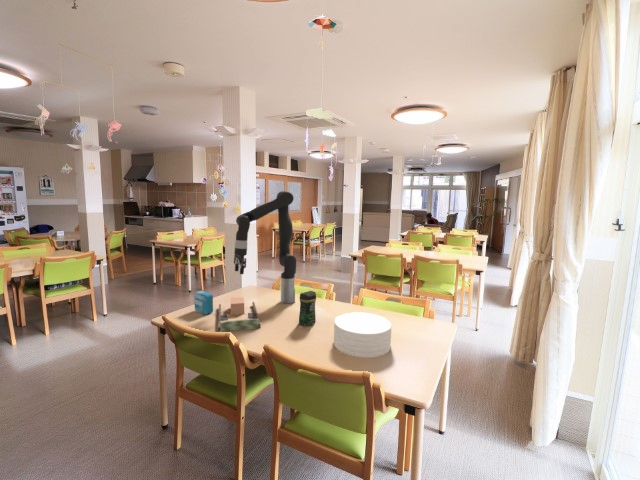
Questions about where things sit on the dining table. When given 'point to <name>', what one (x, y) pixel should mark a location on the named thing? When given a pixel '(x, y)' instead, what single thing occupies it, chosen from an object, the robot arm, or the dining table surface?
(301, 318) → the coffee jar
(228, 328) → the lane rails
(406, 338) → the dining table surface
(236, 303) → the terracotta block
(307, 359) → the dining table surface
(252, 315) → the pads
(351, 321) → the plate stack
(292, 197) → the robot arm
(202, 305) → the data package
